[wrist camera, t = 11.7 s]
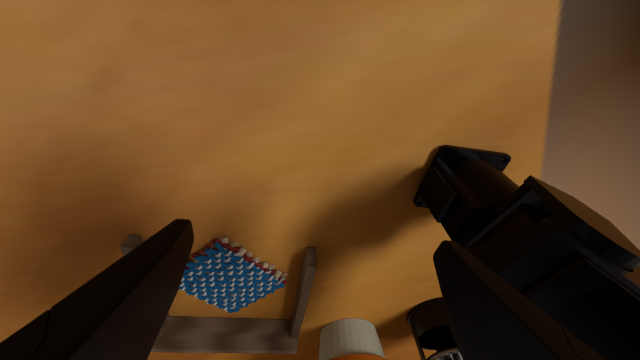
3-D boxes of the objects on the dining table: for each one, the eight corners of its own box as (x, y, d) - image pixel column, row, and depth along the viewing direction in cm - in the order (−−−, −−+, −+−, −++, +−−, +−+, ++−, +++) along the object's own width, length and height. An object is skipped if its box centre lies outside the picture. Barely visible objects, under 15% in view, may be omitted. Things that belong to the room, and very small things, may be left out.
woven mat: (236, 303, 34) (233, 318, 32) (166, 269, 29) (157, 285, 27) (292, 272, 31) (291, 287, 29) (223, 228, 26) (217, 243, 24)
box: (315, 247, 27) (317, 280, 24) (297, 323, 37) (296, 353, 34) (129, 234, 25) (102, 269, 21) (163, 319, 35) (148, 352, 31)
